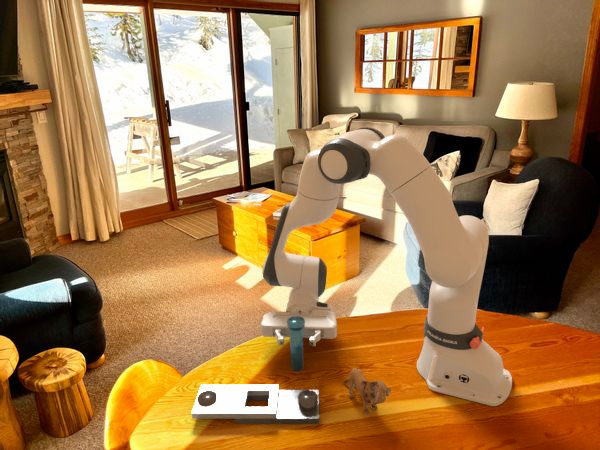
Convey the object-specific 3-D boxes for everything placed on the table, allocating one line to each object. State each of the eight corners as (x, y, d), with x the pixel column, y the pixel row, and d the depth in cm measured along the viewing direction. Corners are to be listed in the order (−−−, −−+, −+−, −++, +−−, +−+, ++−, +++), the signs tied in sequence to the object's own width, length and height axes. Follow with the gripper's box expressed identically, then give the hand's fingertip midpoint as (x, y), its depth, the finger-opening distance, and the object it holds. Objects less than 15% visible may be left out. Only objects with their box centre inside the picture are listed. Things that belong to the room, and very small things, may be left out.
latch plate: (318, 394, 110) (318, 383, 108) (319, 423, 101) (319, 411, 100) (202, 395, 111) (200, 383, 109) (193, 423, 102) (191, 411, 101)
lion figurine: (393, 415, 103) (395, 382, 100) (375, 425, 100) (376, 392, 97) (351, 379, 115) (351, 349, 111) (334, 387, 112) (334, 357, 109)
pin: (309, 365, 120) (308, 319, 115) (299, 375, 117) (298, 328, 111) (295, 359, 122) (293, 314, 117) (285, 368, 119) (283, 322, 114)
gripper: (263, 302, 128) (254, 331, 116) (337, 304, 126) (336, 333, 114) (265, 322, 131) (256, 352, 118) (337, 324, 129) (336, 355, 116)
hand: (296, 343), depth 116 cm, fingers open, 7 cm apart
